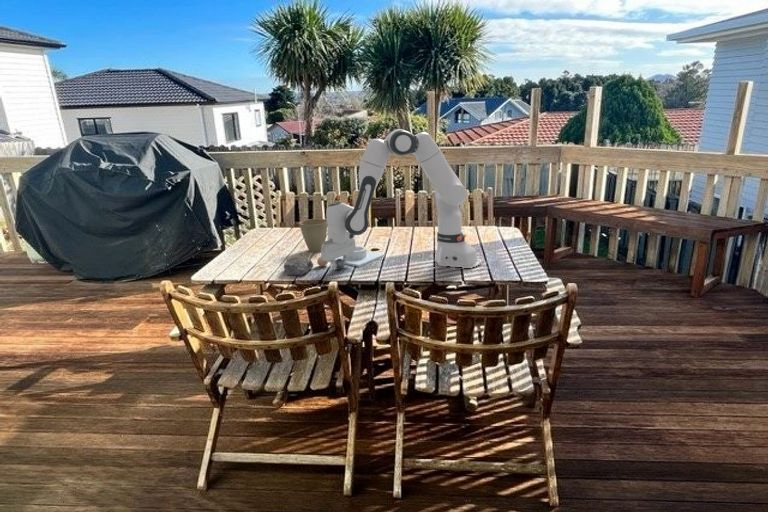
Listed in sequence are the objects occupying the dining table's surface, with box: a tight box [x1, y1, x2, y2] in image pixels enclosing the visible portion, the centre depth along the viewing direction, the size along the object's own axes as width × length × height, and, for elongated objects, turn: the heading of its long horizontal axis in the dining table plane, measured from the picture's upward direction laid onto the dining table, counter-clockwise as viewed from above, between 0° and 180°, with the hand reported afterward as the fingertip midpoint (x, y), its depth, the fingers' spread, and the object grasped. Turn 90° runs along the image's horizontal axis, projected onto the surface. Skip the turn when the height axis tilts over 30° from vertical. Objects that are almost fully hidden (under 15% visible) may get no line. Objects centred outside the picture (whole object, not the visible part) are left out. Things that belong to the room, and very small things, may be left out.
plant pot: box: [299, 218, 328, 253], centre depth 241 cm, size 15×15×16 cm
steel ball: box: [335, 259, 346, 270], centre depth 210 cm, size 5×5×5 cm
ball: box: [316, 256, 329, 267], centre depth 216 cm, size 5×5×5 cm
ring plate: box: [335, 245, 385, 268], centre depth 226 cm, size 20×20×5 cm
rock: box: [283, 255, 314, 276], centre depth 209 cm, size 13×6×15 cm
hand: (339, 265), depth 211 cm, fingers closed on steel ball, 5 cm apart
